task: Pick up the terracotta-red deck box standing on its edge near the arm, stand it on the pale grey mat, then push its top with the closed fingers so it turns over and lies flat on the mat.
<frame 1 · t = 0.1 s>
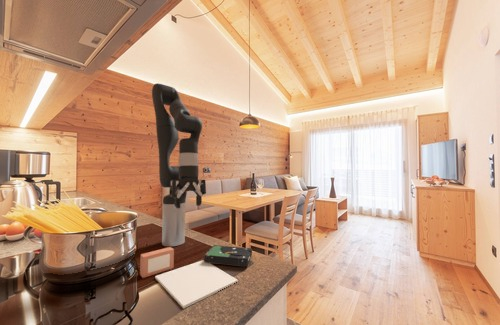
hand: (188, 206, 78), 17 cm above the counter, tool pointing down, fingers open, 8 cm apart
disk drive: (229, 259, 70), on the counter, touching mat
deck box: (157, 271, 62), on the counter
mat: (195, 280, 57), on the counter
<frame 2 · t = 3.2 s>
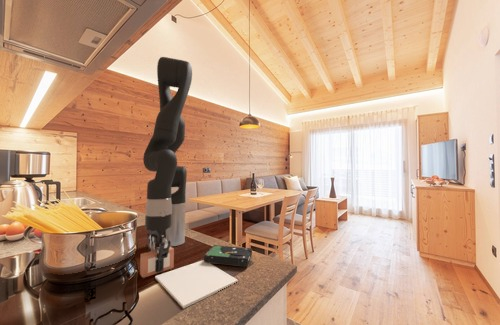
hand: (157, 269, 62), 1 cm above the counter, tool pointing down, fingers closed on deck box, 2 cm apart
deck box: (157, 271, 62), on the counter, touching gripper
everything else where it was.
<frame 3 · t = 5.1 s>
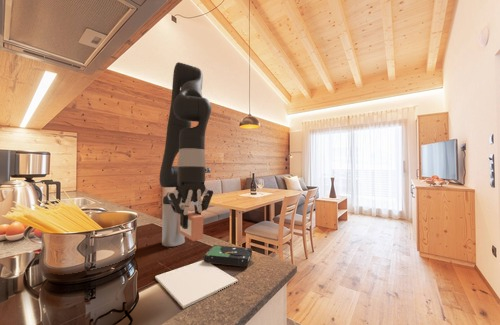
hand: (190, 226, 57), 15 cm above the counter, tool pointing down, fingers closed on deck box, 3 cm apart
deck box: (190, 235, 57), point 13 cm above the counter, touching gripper
everything else where it was.
when the fingers open (3 cm above the counter, at t = 7.3 s): deck box stays where it is, resting on mat.
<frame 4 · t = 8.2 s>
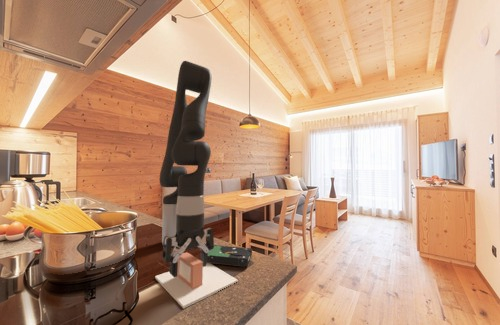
hand: (189, 270, 56), 3 cm above the counter, tool pointing down, fingers open, 8 cm apart
deck box: (189, 280, 56), point 1 cm above the counter, touching mat
everything else where it was.
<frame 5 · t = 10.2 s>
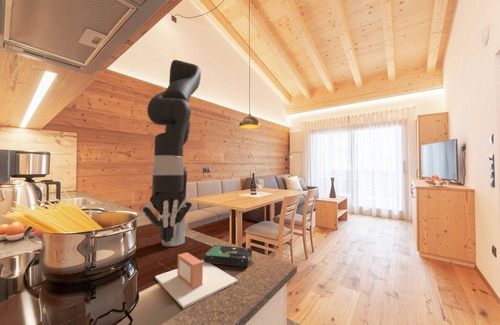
hand: (166, 240, 52), 13 cm above the counter, tool pointing down, fingers closed
nothing on the counter moved.
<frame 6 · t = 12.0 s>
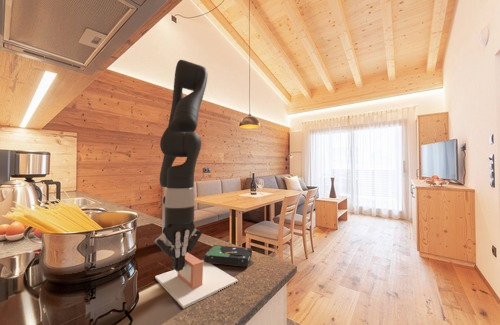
hand: (178, 269, 54), 4 cm above the counter, tool pointing down, fingers closed
deck box: (189, 280, 56), point 1 cm above the counter, touching gripper, mat
everything else where it was.
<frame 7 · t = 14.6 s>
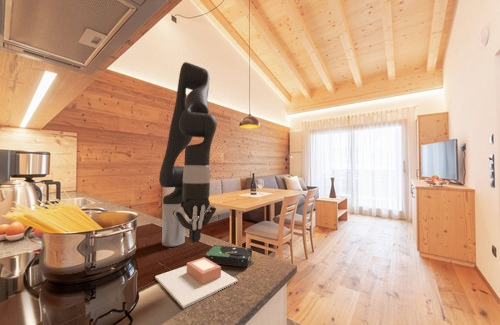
hand: (194, 242, 58), 11 cm above the counter, tool pointing down, fingers closed
deck box: (194, 273, 57), point 2 cm above the counter, tilted 90°, touching mat
everything else where it was.
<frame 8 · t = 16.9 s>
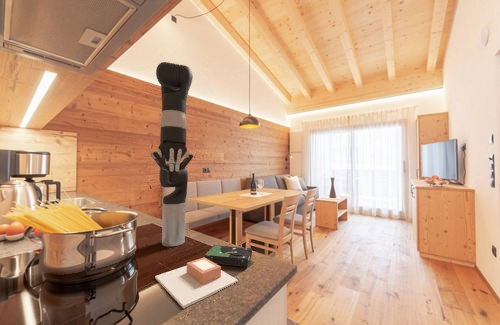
hand: (172, 183, 62), 27 cm above the counter, tool pointing down, fingers closed
nothing on the counter moved.
at the end: deck box tilted 90°; deck box inside the target area (0.5 cm from its centre), point 2.0 cm above the counter; the gripper is holding nothing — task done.
